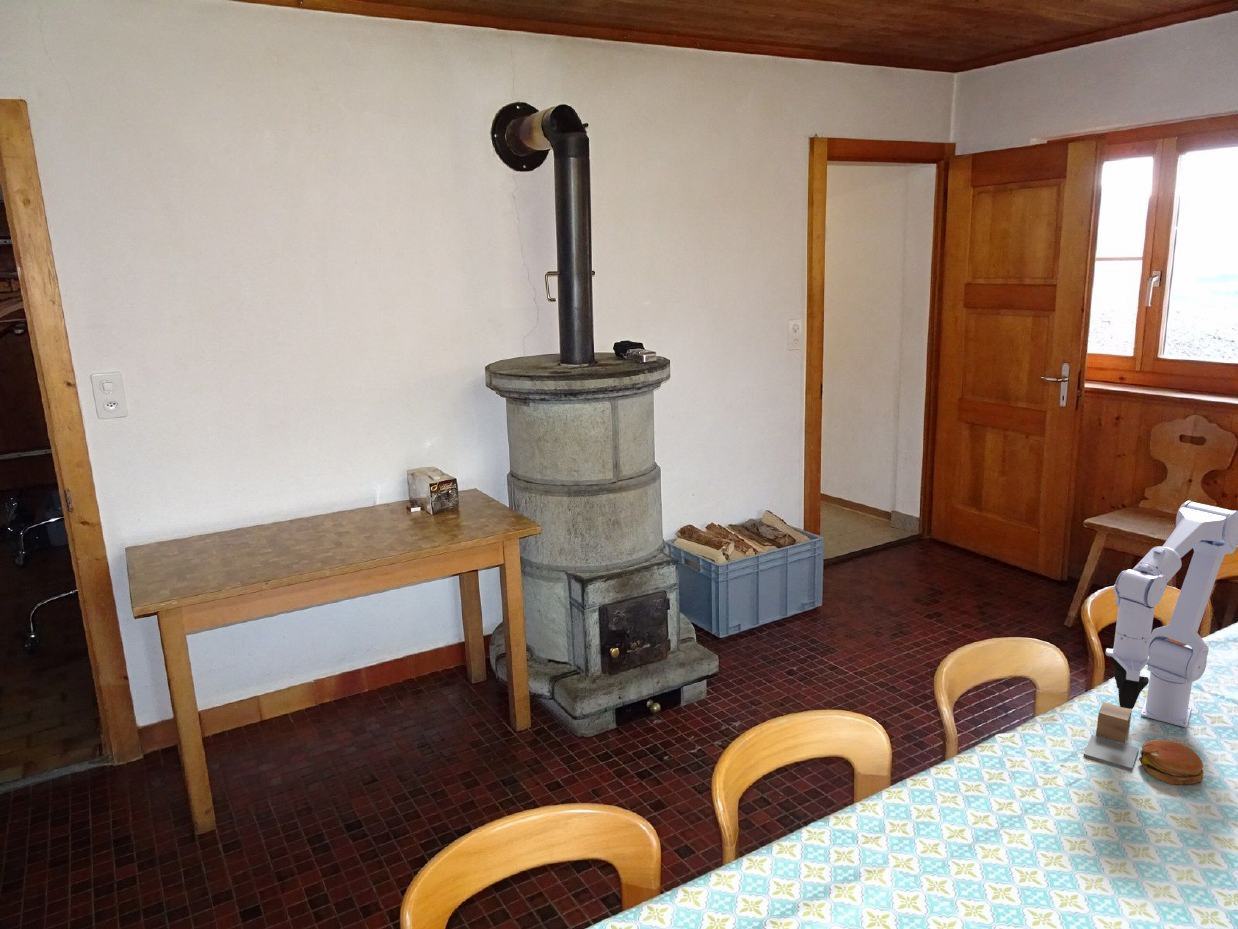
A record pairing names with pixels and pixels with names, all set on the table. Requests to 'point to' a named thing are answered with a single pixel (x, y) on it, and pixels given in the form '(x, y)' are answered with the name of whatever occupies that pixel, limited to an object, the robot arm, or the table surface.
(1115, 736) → the walnut cube
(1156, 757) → the burger
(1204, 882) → the table surface
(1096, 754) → the slate coaster
